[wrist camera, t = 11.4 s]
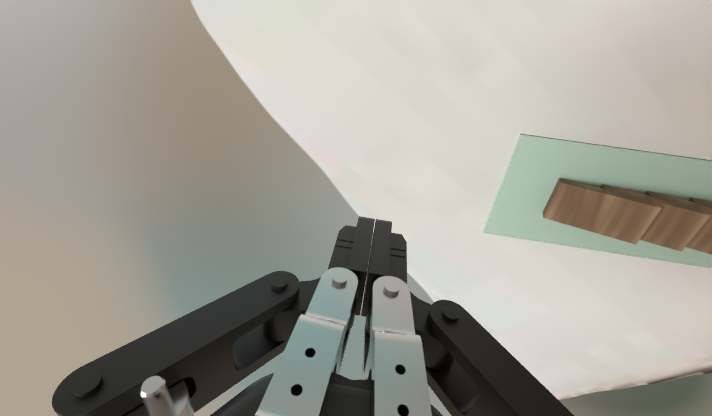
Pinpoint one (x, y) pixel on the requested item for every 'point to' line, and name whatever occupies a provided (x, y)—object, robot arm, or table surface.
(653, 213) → the domino
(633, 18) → the table surface
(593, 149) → the felt mat
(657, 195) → the domino
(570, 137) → the table surface
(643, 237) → the domino
